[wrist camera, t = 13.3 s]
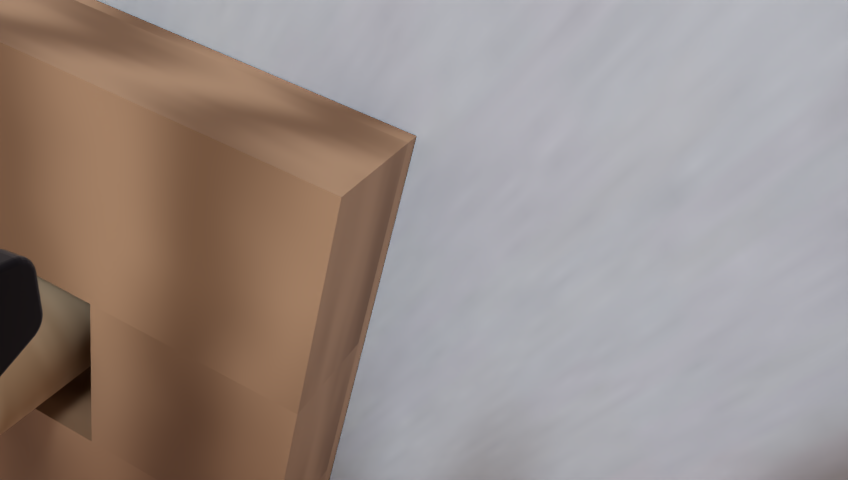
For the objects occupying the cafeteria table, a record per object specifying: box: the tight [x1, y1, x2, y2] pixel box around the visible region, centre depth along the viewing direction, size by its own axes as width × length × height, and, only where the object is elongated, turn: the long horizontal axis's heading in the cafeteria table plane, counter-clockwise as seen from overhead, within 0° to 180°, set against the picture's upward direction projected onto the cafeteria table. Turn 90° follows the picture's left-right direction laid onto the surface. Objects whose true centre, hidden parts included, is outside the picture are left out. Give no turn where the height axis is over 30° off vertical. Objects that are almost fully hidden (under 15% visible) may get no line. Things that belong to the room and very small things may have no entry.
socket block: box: [0, 0, 416, 480], centre depth 26 cm, size 20×20×4 cm
